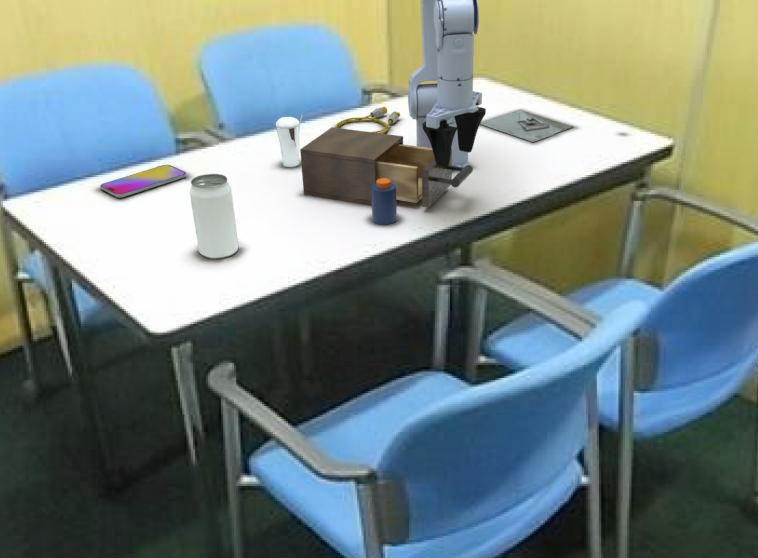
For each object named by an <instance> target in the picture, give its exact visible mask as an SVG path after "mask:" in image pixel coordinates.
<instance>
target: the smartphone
mask: <svg viewBox="0 0 758 558" xmlns="http://www.w3.org/2000/svg"><path fill="white" fill-rule="evenodd" d="M186 177H187V172H186V171H184V170H182V169H179V168H178V167H175V166H173V165H170V164H162V165H159V166H157V167H152V168H150V169H149V168H148V169H146V170H142V171H140V172H139V171H138V172H136V173H133V174H130V175H126V176H123V177H120V178H117V179H114V180H109V181H107V182H104V183H101V184H100V190H102V191H104V192H106V193H108V194H110V195H112V196H113V197H115V198H125V197H129V196H132V195H135V194H138V193H140V192H144V191H147V190H150V189H153V188H156V187H159V186H163V185H165V184H169V183H171V182H175V181H178V180H182V179H184V178H186Z"/></svg>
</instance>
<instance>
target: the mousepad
mask: <svg viewBox="0 0 758 558" xmlns="http://www.w3.org/2000/svg"><path fill="white" fill-rule="evenodd" d="M481 125H482V126H485V127H488V128H490V129H494V130H497V131H499V132H503V133H505V134H508V135H511V136H513V137H517V138H520V139H523V140H526V141H528V142H532V143H534V142H537V141H541V140H543V139H545V138H549V137H552V136H555V135H556V134H557V133H560V132H563V131H565V130H569V129H572V128H574V126H573V125H569V124H567V123H566V124H565V123H562V122H560V121H557V120H553V119H550V118H547V117H543V116H541V115H537V114H534V113H531V112H528V111H524V110H522V109H520V110H517V111H513V112H509V113H506V114H505V115H500V116H498V117H493V118H491V119H489V120H485V121H481V123H480V126H481Z"/></svg>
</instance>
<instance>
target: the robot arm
mask: <svg viewBox="0 0 758 558" xmlns="http://www.w3.org/2000/svg"><path fill="white" fill-rule="evenodd" d="M420 20H421V21H420V23H421V50H422V51H421V52H422V64H421V65H420V66H419V67H418V68H417V69H415V70H414V71H413V72H412V73H411V74H410V75H409V79H408V89H407V103H408V105H407V106H408V113H409V117H410V118H412V120H415V121H416V146H418V147H426V148H432V150H433V154H434V158H435V161H436V165H440V166H444V167H447V166H449V162H450V156H451V148H452V166H457V167H465V166H466V165H470V164H469V154H470V153H471V152H472V151H473V148H474V144H475V140H476V137H477V133H478V130H479V127H480V126H481V124H480V123H482V122H483V119H484V117H485V115H486V114H487V112H486V111H487V109H486V108H485V107H482V106H481V105H482V103H483V101H482V100H483V92H479V91H474V60H475V59H474V58H475V57H474V54H475V36H474V35H478V31H479V25H480V8H479V1H478V0H420ZM425 82H436V83H425ZM480 106H481V107H480Z"/></svg>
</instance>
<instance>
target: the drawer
mask: <svg viewBox="0 0 758 558" xmlns="http://www.w3.org/2000/svg"><path fill="white" fill-rule="evenodd" d="M376 165H377V180H378V179H381V178H387V179H390V181H391V183H393V184H395V185H396V201H402V202H409V203H414V204H415V203H416V204H417V203H418V202H419V201H421V207H422V208H428V209H429V208H430V207H431V206H432V205H433V204H434V203H435V202H436V201H437V200H438V199H439V198H440V197H441V196H442V195H443V194H444V193H445V192H446V191H447V189H449V188H450V186H451V187H452V188H459V187H460V185H461V184H463V182H464V181H466V179H467V178H468V177H470V175H471V174H472V173H473V171H474V168H473V166H472V165H470V164H469V165H466V166H465V167H457V166H452V148H451V156H450V162H449V166H447V167H444V166H440V165H436V161H435V158H434V154H433V150H432V148H426V147H418V146H417V145H410V144H404V143H403V144H398V145H397V146H395V147H394V148H393V149H392V150H391V151H389V152H388V153H387V154H386V155H384V156H383V157H382V158H381V159H380V160H378V161H377V162H376ZM453 171H455V172H457V174H456V175H455V176H454V177H452V174H453V173H452V172H453Z"/></svg>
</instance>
